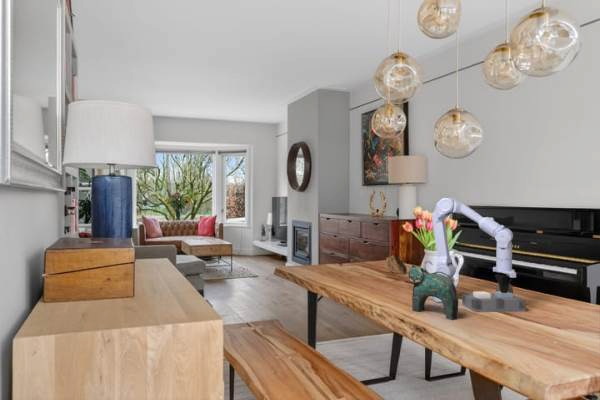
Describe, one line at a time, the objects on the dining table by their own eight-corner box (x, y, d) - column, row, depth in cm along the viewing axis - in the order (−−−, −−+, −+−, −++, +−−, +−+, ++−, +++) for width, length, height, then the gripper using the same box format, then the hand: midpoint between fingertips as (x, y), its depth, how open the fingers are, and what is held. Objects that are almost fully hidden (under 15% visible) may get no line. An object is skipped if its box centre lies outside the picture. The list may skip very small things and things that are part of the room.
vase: (515, 301, 187) (515, 281, 187) (497, 301, 188) (497, 280, 188) (510, 298, 193) (510, 278, 193) (494, 297, 195) (494, 277, 195)
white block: (478, 304, 173) (478, 294, 173) (473, 301, 178) (473, 291, 178) (491, 304, 174) (491, 294, 174) (485, 301, 179) (485, 291, 179)
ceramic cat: (406, 310, 172) (407, 259, 172) (417, 307, 176) (417, 257, 176) (451, 321, 157) (451, 265, 157) (461, 318, 160) (462, 263, 160)
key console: (475, 311, 170) (475, 300, 170) (462, 304, 182) (462, 293, 182) (525, 311, 171) (525, 299, 171) (509, 304, 183) (509, 293, 183)
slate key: (500, 304, 174) (500, 294, 174) (494, 301, 179) (494, 291, 179) (513, 304, 174) (513, 294, 174) (506, 301, 179) (506, 291, 179)
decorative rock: (385, 272, 261) (385, 254, 261) (389, 271, 265) (390, 253, 265) (403, 274, 253) (403, 256, 253) (408, 273, 258) (408, 255, 258)
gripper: (523, 261, 169) (523, 296, 169) (504, 256, 184) (504, 288, 184) (505, 261, 169) (505, 296, 169) (488, 256, 183) (487, 288, 183)
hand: (503, 292), depth 176 cm, fingers closed
